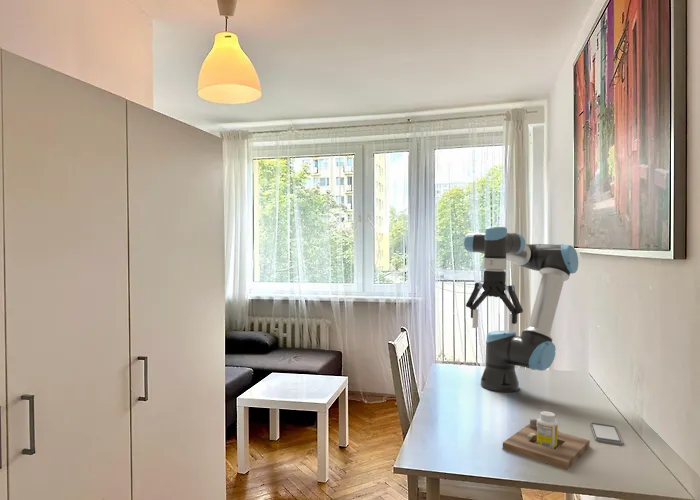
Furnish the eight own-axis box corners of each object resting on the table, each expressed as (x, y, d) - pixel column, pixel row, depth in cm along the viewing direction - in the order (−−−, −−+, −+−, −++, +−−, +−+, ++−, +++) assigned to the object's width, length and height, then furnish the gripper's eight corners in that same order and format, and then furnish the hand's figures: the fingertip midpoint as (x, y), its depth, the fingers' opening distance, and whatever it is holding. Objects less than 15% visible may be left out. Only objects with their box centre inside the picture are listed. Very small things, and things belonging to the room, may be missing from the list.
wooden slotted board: (529, 430, 156) (529, 416, 156) (589, 446, 144) (590, 432, 144) (502, 449, 141) (503, 434, 141) (567, 469, 129) (568, 453, 129)
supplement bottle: (549, 443, 146) (551, 409, 145) (560, 451, 140) (562, 416, 140) (532, 444, 145) (533, 410, 144) (543, 452, 139) (544, 417, 139)
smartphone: (595, 439, 148) (590, 422, 162) (595, 442, 148) (590, 425, 162) (623, 443, 145) (615, 425, 160) (622, 447, 146) (615, 429, 160)
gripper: (457, 268, 177) (456, 326, 178) (525, 273, 161) (523, 336, 161) (467, 268, 183) (465, 324, 183) (534, 272, 167) (531, 333, 167)
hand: (492, 330), depth 172 cm, fingers open, 13 cm apart
